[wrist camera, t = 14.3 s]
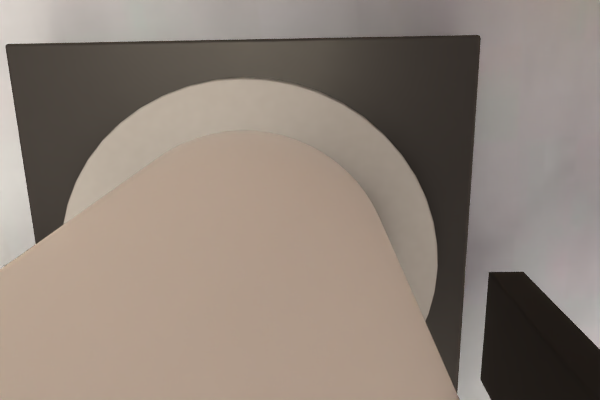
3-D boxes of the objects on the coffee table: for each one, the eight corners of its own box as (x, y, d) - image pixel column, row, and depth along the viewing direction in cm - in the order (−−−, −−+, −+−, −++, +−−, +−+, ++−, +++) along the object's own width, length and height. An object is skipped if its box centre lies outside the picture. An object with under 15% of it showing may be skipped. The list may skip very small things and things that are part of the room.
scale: (456, 37, 17) (488, 34, 14) (434, 440, 21) (455, 507, 18) (47, 45, 17) (-9, 43, 14) (101, 443, 21) (66, 509, 18)
